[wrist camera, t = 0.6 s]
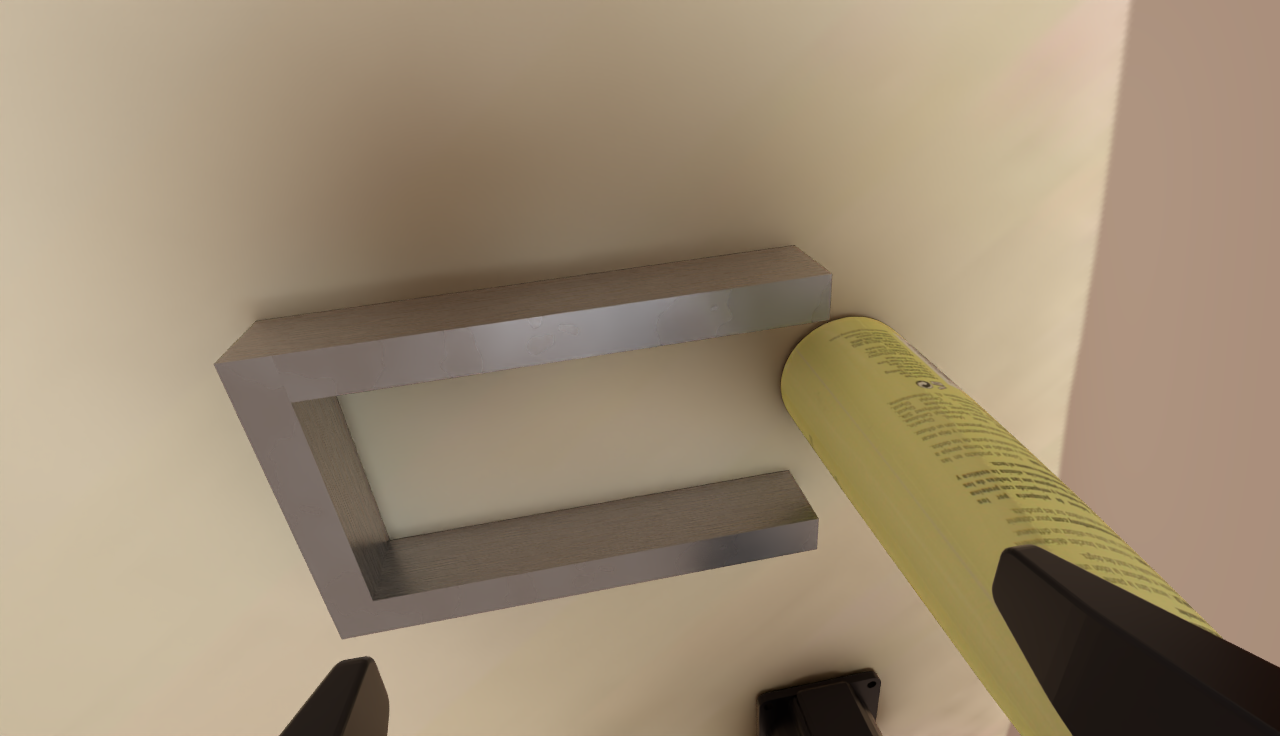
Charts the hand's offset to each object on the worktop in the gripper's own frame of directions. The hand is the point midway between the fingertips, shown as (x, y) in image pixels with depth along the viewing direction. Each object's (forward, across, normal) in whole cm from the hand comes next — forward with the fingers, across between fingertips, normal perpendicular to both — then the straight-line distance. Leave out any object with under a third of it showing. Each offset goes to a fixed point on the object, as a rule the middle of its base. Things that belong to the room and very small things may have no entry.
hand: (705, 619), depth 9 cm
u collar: (+14, +2, +5) cm, 15 cm away
